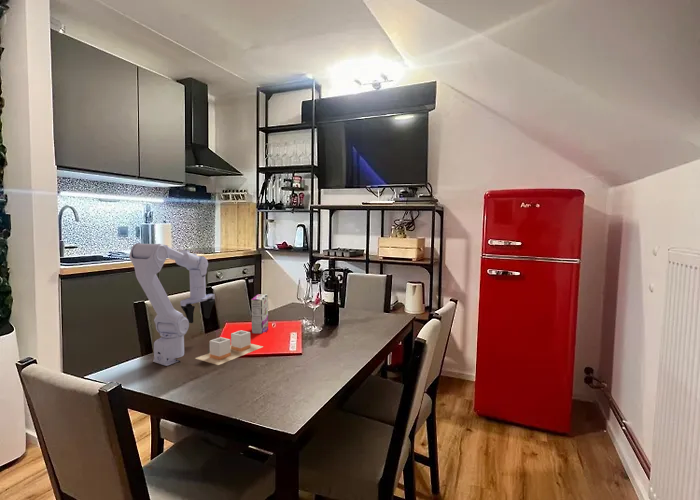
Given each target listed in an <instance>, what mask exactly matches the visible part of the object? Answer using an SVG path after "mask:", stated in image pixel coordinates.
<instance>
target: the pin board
mask: <svg viewBox="0 0 700 500" xmlns="http://www.w3.org/2000/svg"><path fill="white" fill-rule="evenodd" d="M230 348H231V344H230ZM263 348H264V346H263V345H258V344H254V343H251V348H248V349H246V350H243V351H237V350H233V349H231V356H228V357H226V358H223V359H221V360H218V359H214V358H211V357H210V352H209V353H206V354H203V355H200V356H197V357H194V359H195V360H199V361H203V362H206V363H209V364H213V365H216V366H220V365H223V364H225V363H228V362H229V361H232V360H235V359H237V358H238V359H239V358H241V357H242V356H246V355H247V354H250V353H252V352H254V351H257V350H259V349H263Z"/></svg>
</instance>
